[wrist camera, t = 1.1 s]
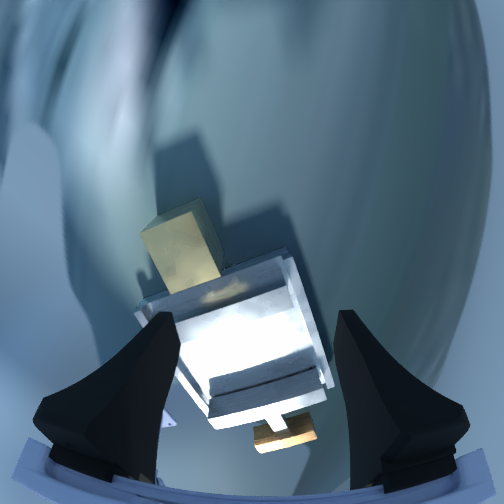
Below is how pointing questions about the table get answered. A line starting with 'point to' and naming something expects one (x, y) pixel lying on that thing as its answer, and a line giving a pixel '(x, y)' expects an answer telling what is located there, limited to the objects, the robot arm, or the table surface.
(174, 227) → the brass block
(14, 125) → the table surface
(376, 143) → the table surface
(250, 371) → the vise bed
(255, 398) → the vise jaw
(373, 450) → the robot arm
